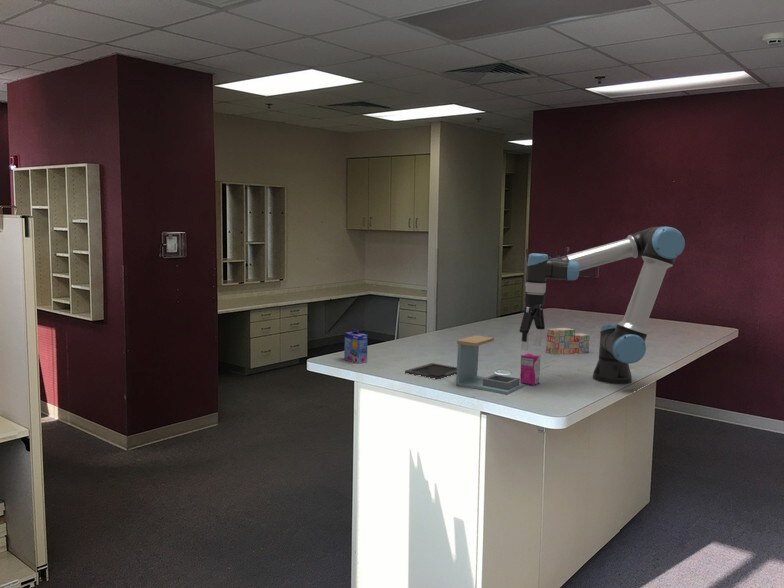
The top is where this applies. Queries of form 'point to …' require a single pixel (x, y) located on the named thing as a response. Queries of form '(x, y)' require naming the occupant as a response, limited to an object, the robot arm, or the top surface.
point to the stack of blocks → (566, 341)
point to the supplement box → (530, 369)
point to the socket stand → (469, 367)
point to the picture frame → (433, 370)
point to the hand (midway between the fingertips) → (530, 347)
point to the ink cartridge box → (355, 346)
